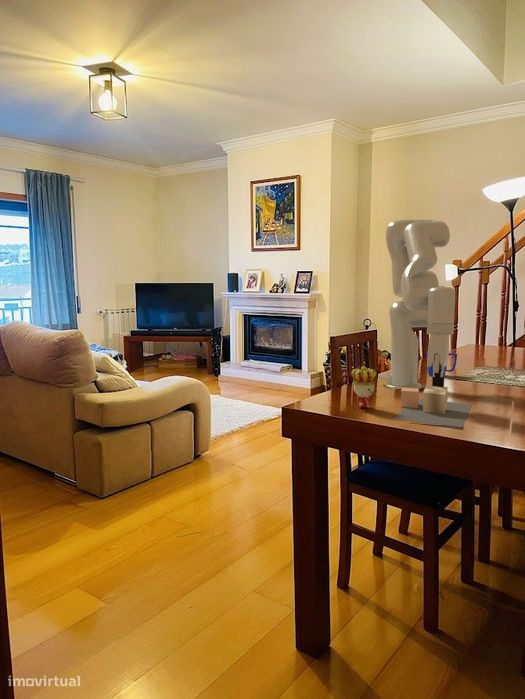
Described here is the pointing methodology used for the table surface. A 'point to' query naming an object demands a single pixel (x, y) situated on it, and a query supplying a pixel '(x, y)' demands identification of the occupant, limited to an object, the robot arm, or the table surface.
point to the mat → (437, 415)
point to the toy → (364, 385)
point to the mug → (430, 370)
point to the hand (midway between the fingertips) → (437, 389)
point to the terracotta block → (409, 397)
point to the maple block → (435, 399)
